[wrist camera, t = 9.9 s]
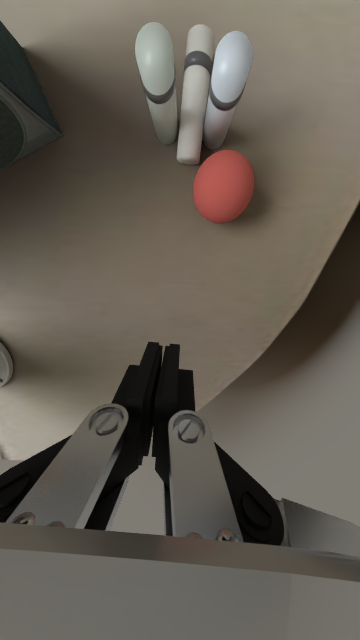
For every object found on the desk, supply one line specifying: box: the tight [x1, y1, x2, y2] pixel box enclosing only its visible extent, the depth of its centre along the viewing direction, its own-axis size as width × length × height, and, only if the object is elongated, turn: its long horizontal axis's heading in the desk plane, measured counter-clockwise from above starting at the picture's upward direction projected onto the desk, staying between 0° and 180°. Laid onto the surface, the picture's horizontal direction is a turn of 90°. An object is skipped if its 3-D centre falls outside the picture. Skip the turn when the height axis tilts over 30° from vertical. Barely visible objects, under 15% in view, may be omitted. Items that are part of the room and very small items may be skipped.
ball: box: [193, 150, 254, 223], centre depth 19 cm, size 6×6×6 cm
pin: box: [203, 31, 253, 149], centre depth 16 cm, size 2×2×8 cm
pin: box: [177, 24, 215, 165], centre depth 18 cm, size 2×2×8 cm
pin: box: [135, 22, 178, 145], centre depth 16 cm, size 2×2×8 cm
